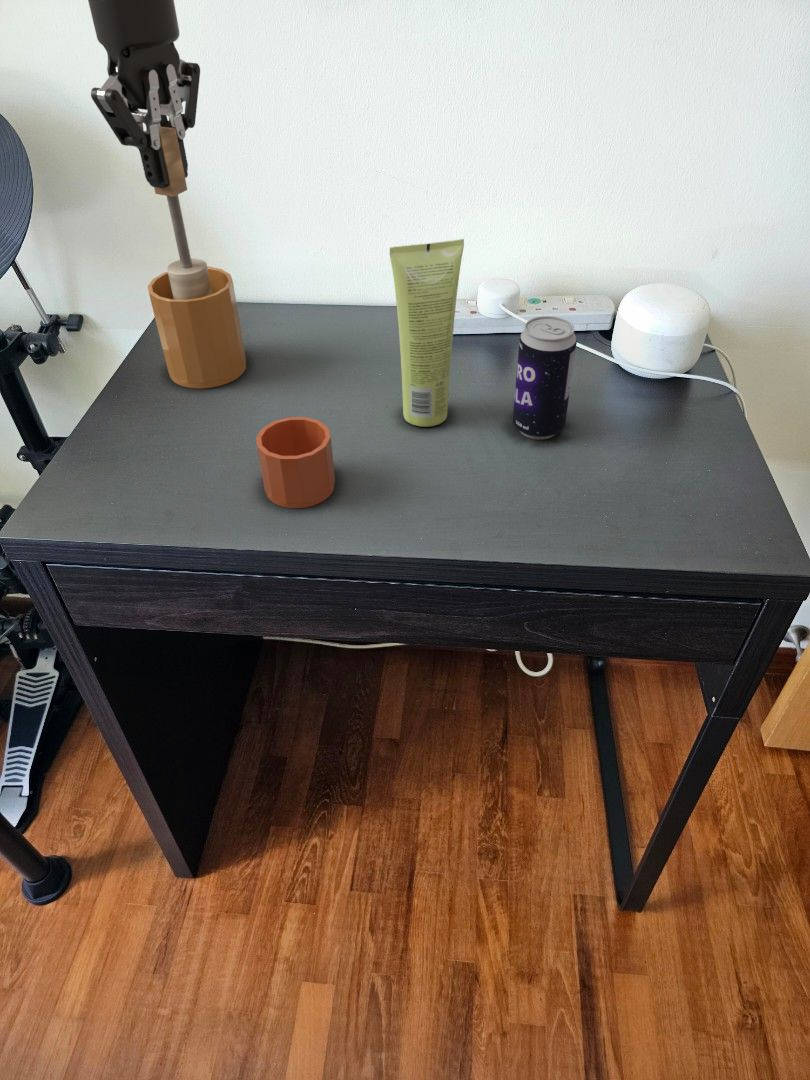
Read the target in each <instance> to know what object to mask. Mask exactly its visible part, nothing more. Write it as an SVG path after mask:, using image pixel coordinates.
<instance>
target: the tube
mask: <svg viewBox="0 0 810 1080" xmlns="http://www.w3.org/2000/svg"><path fill="white" fill-rule="evenodd" d="M464 247H465V239H464V238H458V239H450V240H443V241H435V242H427V243H415V244H406V245H405V244H404V245H395V246H389V259H390V264H391V270H392V277H393V284H394V293H395V301H396V313H397V314H396V315H397V325H398V337H399V350H400V351H399V353H400V367H401V390H402V391H401V393H402V413H403V418H404V420H405V421H406V423H408V424H410V425H413V426H417V427H422V428H423V427H424V428H429V427H434V426H437V425H440V424H442V423H444V422H445V421H446V420H447V417H448V410H449V409H448V408H449V407H448V406H449V392H450V391H449V389H450V375H451V362H452V351H453V350H452V349H453V338H454V327H455V316H456V305H457V296H458V288H459V280H460V272H461V265H462V260H463V255H464Z"/></svg>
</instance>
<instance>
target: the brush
mask: <svg viewBox="0 0 810 1080" xmlns="http://www.w3.org/2000/svg"><path fill="white" fill-rule="evenodd" d="M158 128H159V136H160V148H161V149H162V150H163V155H164V160H165V165H166V169H167V174H168V179H169V186H168V187H165V188H157V187H153V189H154V193H155V195H160V196H165V197H166V200H167V205H168V210H169V214H170V219H171V223H172V229H173V234H174V238H175V243H176V248H177V252H178V257H179V259H178V260H175V261H173V262H171V263H170V264H169V265H167V268H166V272H168V276H169V280H170V285H171V289H172V293H173V298H174V299H178V300H188V299H195V298H202V297H205V296H208V295H211V294H212V289H211V284H210V278H209V273H208V268H207V266H208V263H207V262H206V261H205V260H202V259H200V258H192V256H191V252H190V247H189V242H188V238H187V232H186V228H185V223H184V222H185V221H184V217H183V213H182V207H181V202H180V198H179V195H180V194H182V193H184V192H187V191H188V185H187V181H186V178H185V175H184V169H183V164H182V159H181V154H180V149H179V144H178V138H177V133H176V129H175V128H168V127H161V126H158ZM144 134H145V135H147V129H145V130H144Z"/></svg>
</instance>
